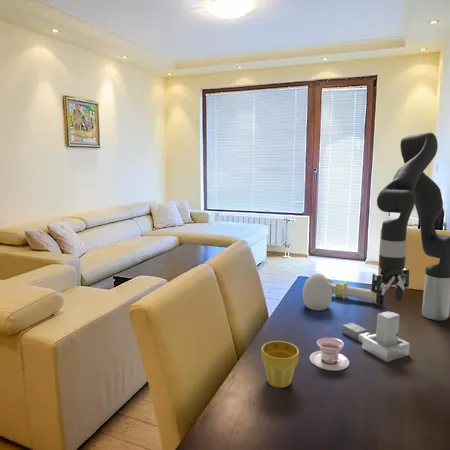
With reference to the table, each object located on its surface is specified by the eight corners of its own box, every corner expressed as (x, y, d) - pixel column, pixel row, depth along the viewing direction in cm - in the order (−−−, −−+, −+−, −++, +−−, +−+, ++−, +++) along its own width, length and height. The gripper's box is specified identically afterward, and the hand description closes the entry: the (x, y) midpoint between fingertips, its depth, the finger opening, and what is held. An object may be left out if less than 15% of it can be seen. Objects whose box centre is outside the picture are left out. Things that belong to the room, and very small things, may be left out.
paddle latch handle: (357, 328, 143) (357, 318, 143) (408, 354, 124) (409, 343, 123) (336, 334, 139) (337, 323, 138) (386, 362, 119) (387, 349, 119)
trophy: (382, 285, 171) (315, 275, 184) (380, 290, 164) (310, 279, 178) (380, 302, 172) (314, 291, 186) (378, 308, 165) (309, 296, 179)
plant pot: (289, 396, 102) (290, 362, 100) (254, 384, 107) (254, 351, 106) (303, 378, 110) (304, 346, 109) (270, 368, 116) (271, 337, 114)
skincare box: (386, 354, 123) (388, 318, 121) (374, 348, 127) (376, 313, 125) (398, 350, 126) (401, 314, 124) (386, 344, 130) (388, 310, 128)
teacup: (326, 375, 112) (327, 355, 111) (301, 356, 123) (302, 338, 122) (357, 366, 117) (359, 347, 116) (331, 349, 128) (332, 331, 127)
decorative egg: (335, 305, 167) (336, 272, 164) (326, 314, 157) (327, 279, 154) (308, 300, 173) (309, 267, 171) (297, 308, 163) (298, 274, 161)
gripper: (398, 248, 127) (394, 295, 130) (366, 253, 121) (364, 303, 123) (418, 253, 121) (414, 302, 123) (386, 259, 114) (383, 311, 117)
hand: (389, 302), depth 123 cm, fingers open, 8 cm apart
